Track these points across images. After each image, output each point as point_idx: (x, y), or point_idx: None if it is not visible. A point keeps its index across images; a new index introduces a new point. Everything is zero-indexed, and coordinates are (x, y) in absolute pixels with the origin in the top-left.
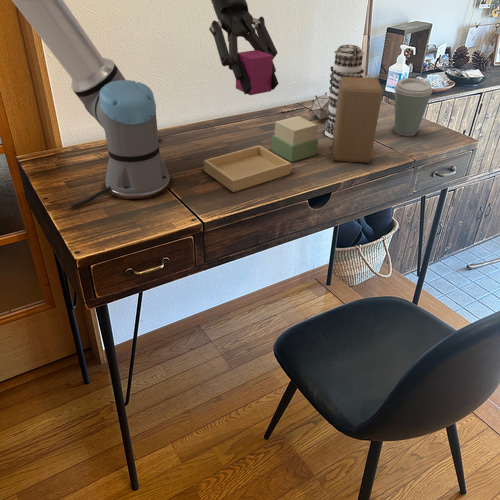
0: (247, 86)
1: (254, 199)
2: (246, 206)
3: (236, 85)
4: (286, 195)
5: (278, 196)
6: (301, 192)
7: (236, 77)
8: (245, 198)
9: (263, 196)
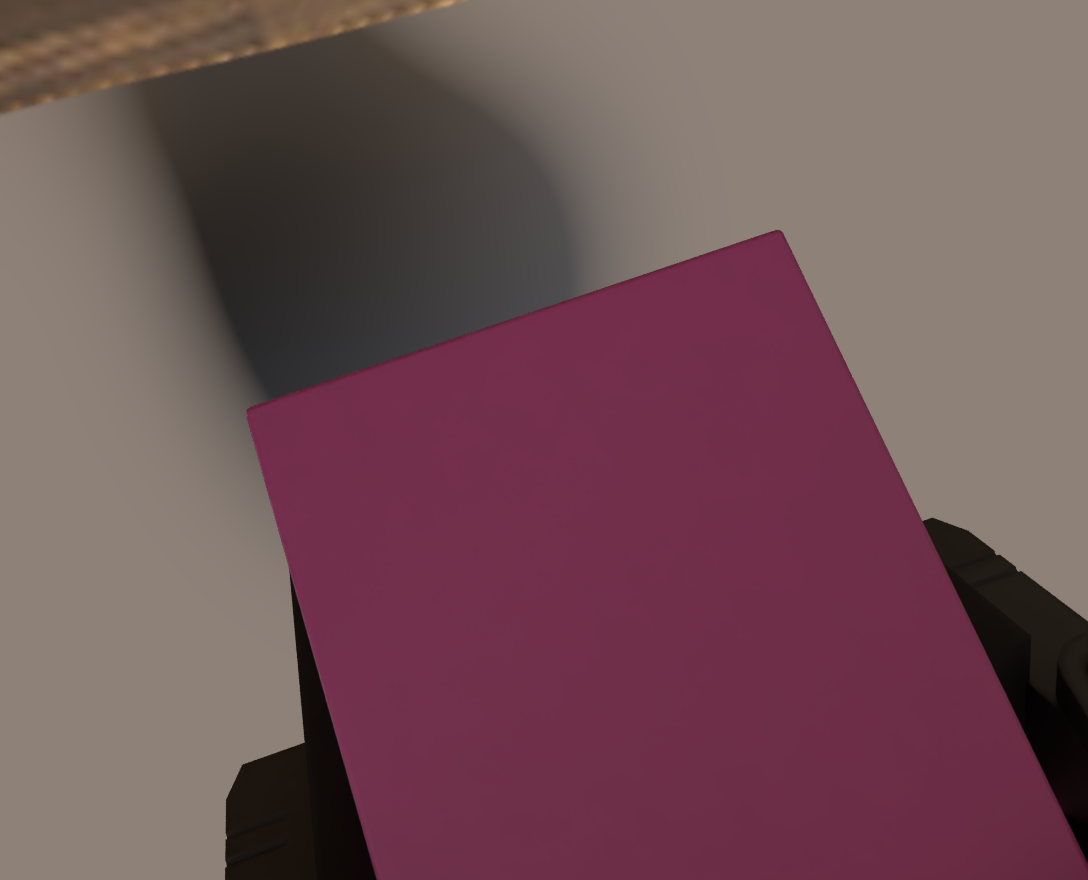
0: None
1: (81, 31)
2: (2, 96)
3: (270, 487)
4: (331, 19)
5: (272, 22)
6: (444, 3)
7: (242, 814)
8: (7, 9)
9: (162, 6)
